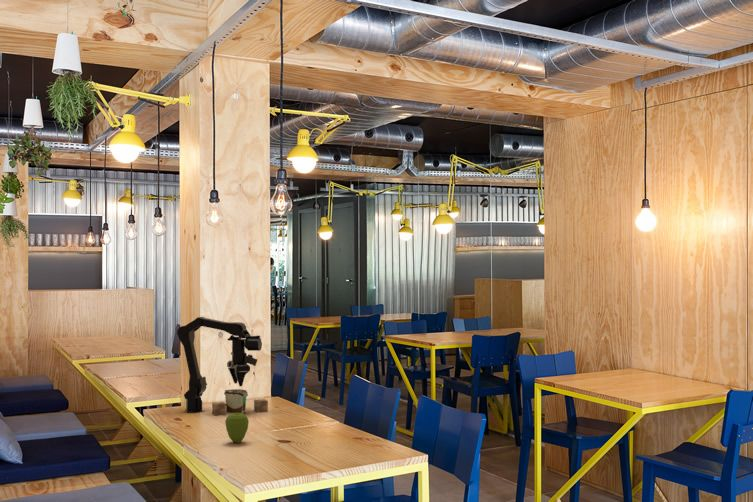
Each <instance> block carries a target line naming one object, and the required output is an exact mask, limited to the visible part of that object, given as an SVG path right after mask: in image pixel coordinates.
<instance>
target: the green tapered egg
mask: <svg viewBox="0 0 753 502" xmlns="http://www.w3.org/2000/svg"><path fill="white" fill-rule="evenodd" d="M248 418H249V417H248V416H247V415H246V413H245V414H244V413H229V415H228V416H226V419H225V423H224V424H225V428H226V429H225V430H226V432H227V435H228V438H229V439H230V440H231V441H232V442H233V443H238V444H239V443H242V442H243V440H244V438H245V436H246V434H247V431H248V430H249V429H248V428H249V423H250V422H249V419H248Z"/></svg>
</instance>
